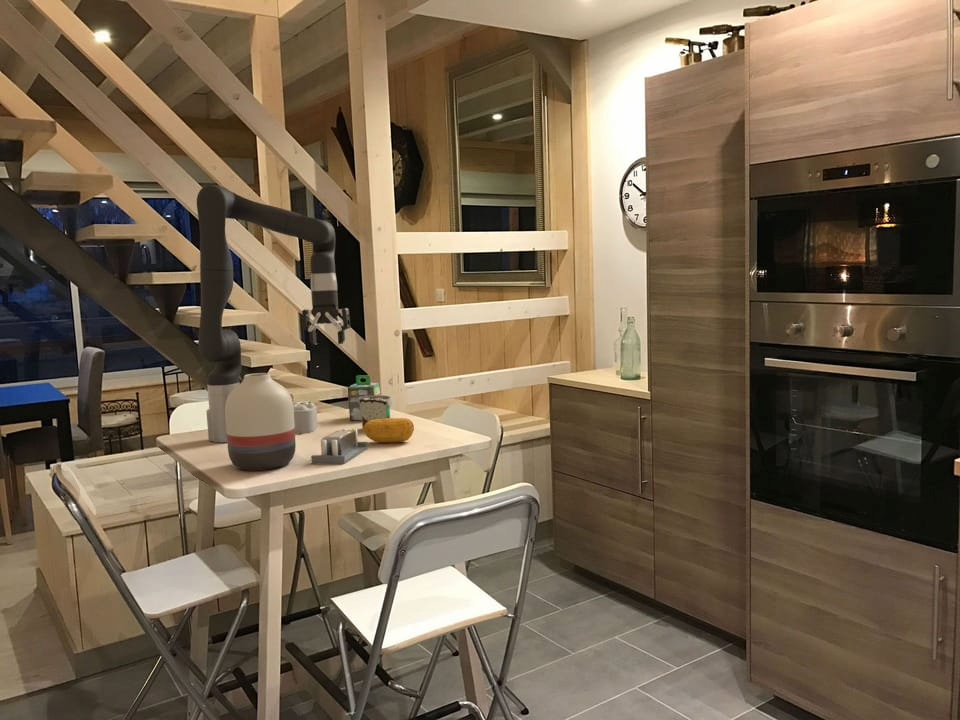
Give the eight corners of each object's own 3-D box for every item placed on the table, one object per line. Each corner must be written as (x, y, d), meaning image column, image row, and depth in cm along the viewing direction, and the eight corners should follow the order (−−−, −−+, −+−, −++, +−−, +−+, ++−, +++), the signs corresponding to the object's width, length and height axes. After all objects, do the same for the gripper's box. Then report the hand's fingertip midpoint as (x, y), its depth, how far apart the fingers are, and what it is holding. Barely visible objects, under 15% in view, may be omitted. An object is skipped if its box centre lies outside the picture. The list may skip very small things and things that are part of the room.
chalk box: (382, 415, 266) (379, 372, 264) (376, 420, 256) (373, 376, 255) (355, 416, 266) (353, 373, 265) (348, 421, 257) (346, 377, 256)
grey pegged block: (311, 463, 200) (310, 441, 199) (337, 448, 216) (336, 428, 216) (344, 463, 198) (342, 441, 197) (367, 448, 214) (366, 428, 214)
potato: (369, 439, 227) (367, 416, 226) (417, 439, 224) (416, 415, 224) (361, 445, 219) (360, 420, 219) (411, 445, 217) (410, 420, 217)
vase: (278, 454, 212) (272, 368, 209) (308, 464, 199) (303, 373, 197) (218, 466, 201) (211, 375, 198) (246, 477, 188) (239, 381, 186)
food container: (402, 427, 243) (400, 396, 242) (389, 431, 238) (387, 399, 237) (371, 424, 249) (370, 394, 248) (359, 428, 244) (357, 397, 243)
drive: (323, 457, 203) (322, 437, 202) (338, 448, 213) (337, 430, 212) (341, 457, 202) (340, 438, 201) (356, 448, 211) (355, 430, 211)
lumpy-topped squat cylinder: (279, 434, 239) (277, 407, 238) (289, 426, 252) (287, 400, 251) (313, 433, 239) (311, 405, 238) (321, 425, 252) (319, 399, 251)
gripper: (296, 290, 225) (299, 345, 227) (341, 288, 222) (345, 344, 224) (307, 289, 232) (310, 343, 234) (351, 288, 229) (354, 342, 231)
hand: (327, 344), depth 229 cm, fingers open, 8 cm apart
